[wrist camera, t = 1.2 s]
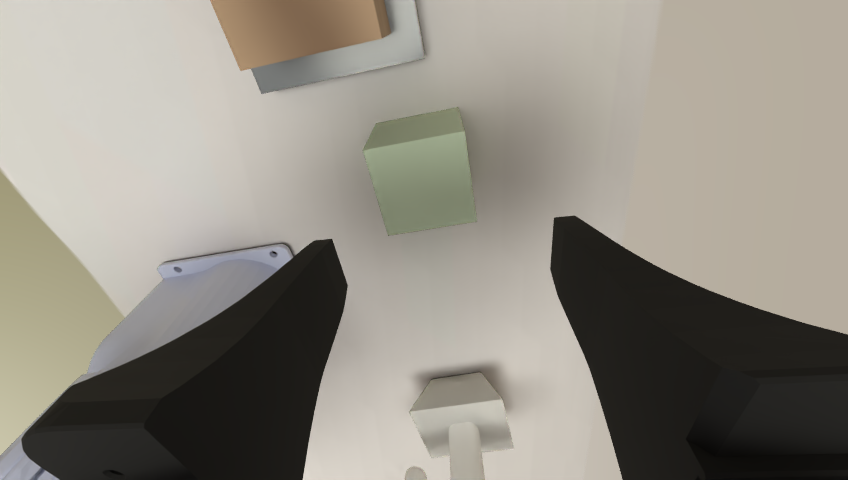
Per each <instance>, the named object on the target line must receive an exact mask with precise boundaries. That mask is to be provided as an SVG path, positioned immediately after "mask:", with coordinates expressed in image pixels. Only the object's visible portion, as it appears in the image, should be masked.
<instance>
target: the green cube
mask: <svg viewBox="0 0 848 480" xmlns="http://www.w3.org/2000/svg"><path fill="white" fill-rule="evenodd" d="M363 153H364V156H365V160H366V163H367V166H368V170H369V173H370V176H371V180H372V183H373V186H374V190H375V193H376V197H377V200H378V203H379V207H380V210H381V213H382V217H383V220H384V223H385V227H386V230H387V234H388V236H390V235H396V234H402V233H409V232H415V231H421V230H427V229H434V228H440V227H446V226H452V225H458V224H465V223H471V222H477V218H476V211H475V203H474V196H473V189H472V181H471V174H470V166H469V159H468V151H467V144H466V137H465V130H464V127H463V123H462V119H461V116H460V112H459V108H458V107H456V108H451V109H446V110H441V111H436V112H431V113H426V114H421V115H416V116H411V117H406V118H401V119H396V120H391V121H386V122H381V123H376V124H375V127H374V129H373V131H372V133H371V135H370V137H369V139H368V141H367V143H366V145H365V147H364V149H363Z"/></svg>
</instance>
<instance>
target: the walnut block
mask: <svg viewBox="0 0 848 480" xmlns="http://www.w3.org/2000/svg"><path fill="white" fill-rule="evenodd" d="M210 1H211V3H212V6H213V8H214V10H215V13H216V15H217V17H218V20H219V22H220V24H221V27H222V29H223V31H224V33H225V36H226V38H227V40H228V43H229V45H230V47H231V50H232V52H233V54H234V57H235V59H236V61H237V64H238V66H239V68H240V71H242V70H247V69H251V68H255V67H260V66H264V65H268V64H273V63H277V62H282V61H286V60H290V59H295V58H299V57H303V56H308V55H312V54H317V53H321V52H325V51H330V50H334V49H339V48H343V47H347V46H352V45H356V44H360V43H365V42H369V41H374V40H378V39H382V38H384V37H386V36H387V35H389V34H391V30H390V26H389V21H388V16H387V11H386V7H385V2H384V0H210Z"/></svg>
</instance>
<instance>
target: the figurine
mask: <svg viewBox="0 0 848 480" xmlns="http://www.w3.org/2000/svg"><path fill="white" fill-rule="evenodd" d="M409 413H410V415H411V417H412V419H413V421H414V423H415V425H416V427H417V429H418V432H419V434H420V436H421V438H422V440H423V442H424V444H425V446H426V448H427V450H428V452H429V454H430V456H431V458H438V457H447V456H450V476H451V480H485V477H484V469H483V460H482V452H491V451H500V450H508V449H514V447H513V442H512V438H511V434H510V429H509V425H508V421H507V416H506V412H505V408H504V404H503V399H502V398H501V397H500V396H499V394H498V393H497V392H496V391H495V389H494V388H493V387H492V386H491V384H490V383H489V382H488V381H487V379H486V378H485V377H484V376H483V374H482V373H481V372H479V373H472V374H465V375H458V376H452V377H445V378H438V379H432V380H431V381H430V382H429V384H428V385H427V387H426V388H425V390H424V391H423V392H422V394H421V395H420V397H419V398H418V400H417V401H416V403H415V404H414V405H413V407H412V408H411V410H410V411H409ZM405 480H427V477H426V474H425V472H424V470H423V469H421V468H419V467H410V468H409V469H408V470H407V471H406V474H405Z"/></svg>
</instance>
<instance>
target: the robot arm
mask: <svg viewBox="0 0 848 480" xmlns="http://www.w3.org/2000/svg"><path fill="white" fill-rule="evenodd" d="M272 251H274V252H276V253H277V254H274V253H273V252H272ZM180 268H181V269H180ZM157 270H158V272H159V274H160V275H161V276H162V278H163V280H162V281H161V282H160V283H159V284H158V285H157V286H156V287H155V288H154V289H153V290H152V291H151V292H150V293H149V294H148V295H147V296H146V297H145V298H144V299H143V300H142V301H141V302H140V303H139V304H138V305H137V306H136V307H135V308H134V310H133V311H132V312H131V313H130V314H129V315H128V316H127V317H126V318H125V319H124V320H123V321H122V322H121V323H120V324H119V325H118V326H117V327H116V328H115V329H114V330H113V331H112V332H111V333H110V334H109V335H108V336H107V337H106V338H105V339H104V340H103V341H102V342H101V344H100V345H99V346H98V348H97V349H96V351H95V353H94V355H93V357H92V359H91V362H90V365H89V368H88V372H87V374H84V375H81V376H80V377H79V378H78V379H76V380H75V381H74V382H73V383H72V384H71V385H70V386H69V387H68V388H67V389H66V390H65V391H64V392H63V393H62V394H61V395H60V396H59V397H58V398H57V399H56V400H55V401H54V402H53V403H52V404H51V405H50V406H49V407H48V408H47V409H46V410H45V411H44V412H43V413H42V414H41V415H40V416H39V417H38V418H37V419H36V420H35V421H34V422H33V423H32V424H31V425H30V426H29V427H28V428H27V429H26V430H25V431H24V432H23V433H22V434H21V435H20V436H19V437H18V438H17V439H16V440H15V441H14V442H13V443H12V444H11V445H10V446H9V447H8V448H7V449H6V450H5V451H4V452H3V453H2V454H1V455H0V480H303V473H304V467H305V461H306V455H307V448H308V442H309V437H310V431H311V426H312V421H313V416H314V410H315V406H316V401H317V396H318V392H319V387H320V383H321V379H322V376H323V372H324V369H325V366H326V363H327V360H328V357H329V354H330V351H331V348H332V345H333V342H334V339H335V336H336V333H337V329H338V326H339V323H340V320H341V317H342V314H343V310H344V305H345V299H346V293H347V287H348V285H347V282H346V279H345V276H344V273H343V270H342V267H341V264H340V261H339V258H338V255H337V252H336V249H335V246H334V244H333V241H332V239H326V240H316V241H313V242H312V243H310V244H309V245H308V246H306V247H305V248H304V249H303V250H301V251H300V252H299V253H298V254H297V255H295V256H294V257H293V255H292V253H291V251H290V249H289V248H288V247H287V246H286V245H284V244H277V245H270V246H264V247H258V248H252V249H246V250H240V251H234V252H228V253H221V254H215V255H209V256H203V257H197V258H191V259H185V260H179V261H173V262H166V263H162V264H161V265H160V266H159V267H158V268H157ZM550 270H551V273H552V277H553V281H554V284H555V288H556V291H557V294H558V297H559V299H560V302H561V304H562V306H563V309H564V311H565V313H566V316H567V318H568V320H569V322H570V324H571V327H572V329H573V331H574V333H575V336H576V338H577V340H578V342H579V345H580V347H581V349H582V351H583V353H584V356H585V358H586V361H587V363H588V366H589V368H590V371H591V374H592V378H593V381H594V384H595V387H596V390H597V393H598V396H599V399H600V402H601V406H602V409H603V412H604V416H605V419H606V422H607V426H608V429H609V432H610V436H611V439H612V443H613V446H614V450H615V453H616V457H617V460H618V464H619V468H620V471H621V475H622V479H623V480H848V335H847V334H843V333H840V332H836V331H832V330H828V329H824V328H821V327H817V326H813V325H809V324H805V323H802V322H799V321H796V320H792V319H789V318H786V317H783V316H780V315H776V314H773V313H770V312H767V311H764V310H760V309H758V308H754V307H752V306H749V305H746V304H743V303H740V302H738V301H735V300H732V299H730V298H727V297H725V296H722V295H720V294H717V293H714V292H711V291H709V290H707V289H704V288H702V287H700V286H697V285H695V284H693V283H690V282H688V281H686V280H684V279H682V278H680V277H678V276H675V275H673V274H671V273H669V272H667V271H665V270H663V269H661V268H659V267H657V266H655V265H653V264H652V263H650V262H648V261H646V260H644V259H643V258H641V257H639V256H637V255H636V254H634V253H632V252H631V251H629V250H627V249H625V248H624V247H622V246H621V245H619V244H617V243H616V242H614V241H613V240H611V239H610V238H608V237H607V236H605V235H604V234H602V233H601V232H599V231H598V230H596V229H594V228H593V227H592V226H590V225H589V224H587V223H585V222H584V221H582V220H581V219H579V218H578V217H576V216H566V217H556V218H554V226H553V240H552V254H551V267H550Z"/></svg>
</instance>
